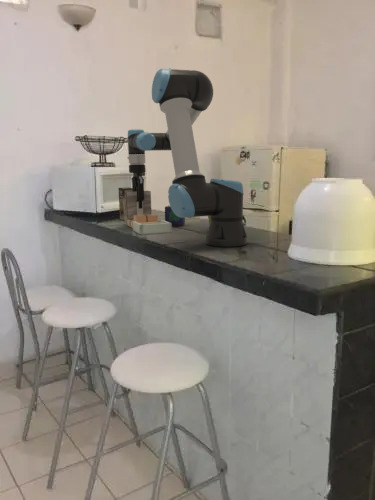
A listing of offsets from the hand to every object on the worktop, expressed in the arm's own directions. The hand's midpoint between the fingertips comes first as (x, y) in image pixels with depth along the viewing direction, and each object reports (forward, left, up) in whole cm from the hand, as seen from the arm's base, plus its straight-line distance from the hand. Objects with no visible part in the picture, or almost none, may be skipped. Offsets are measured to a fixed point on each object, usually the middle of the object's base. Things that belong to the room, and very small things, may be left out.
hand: (138, 214), depth 216 cm
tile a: (-12, -3, -2) cm, 12 cm away
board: (-6, 0, -5) cm, 7 cm away
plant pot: (-33, -25, -5) cm, 42 cm away
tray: (-22, 0, -5) cm, 22 cm away
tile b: (-12, +3, -2) cm, 12 cm away
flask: (-10, -14, -5) cm, 18 cm away
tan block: (0, 0, -1) cm, 1 cm away
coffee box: (+20, +1, -5) cm, 21 cm away
